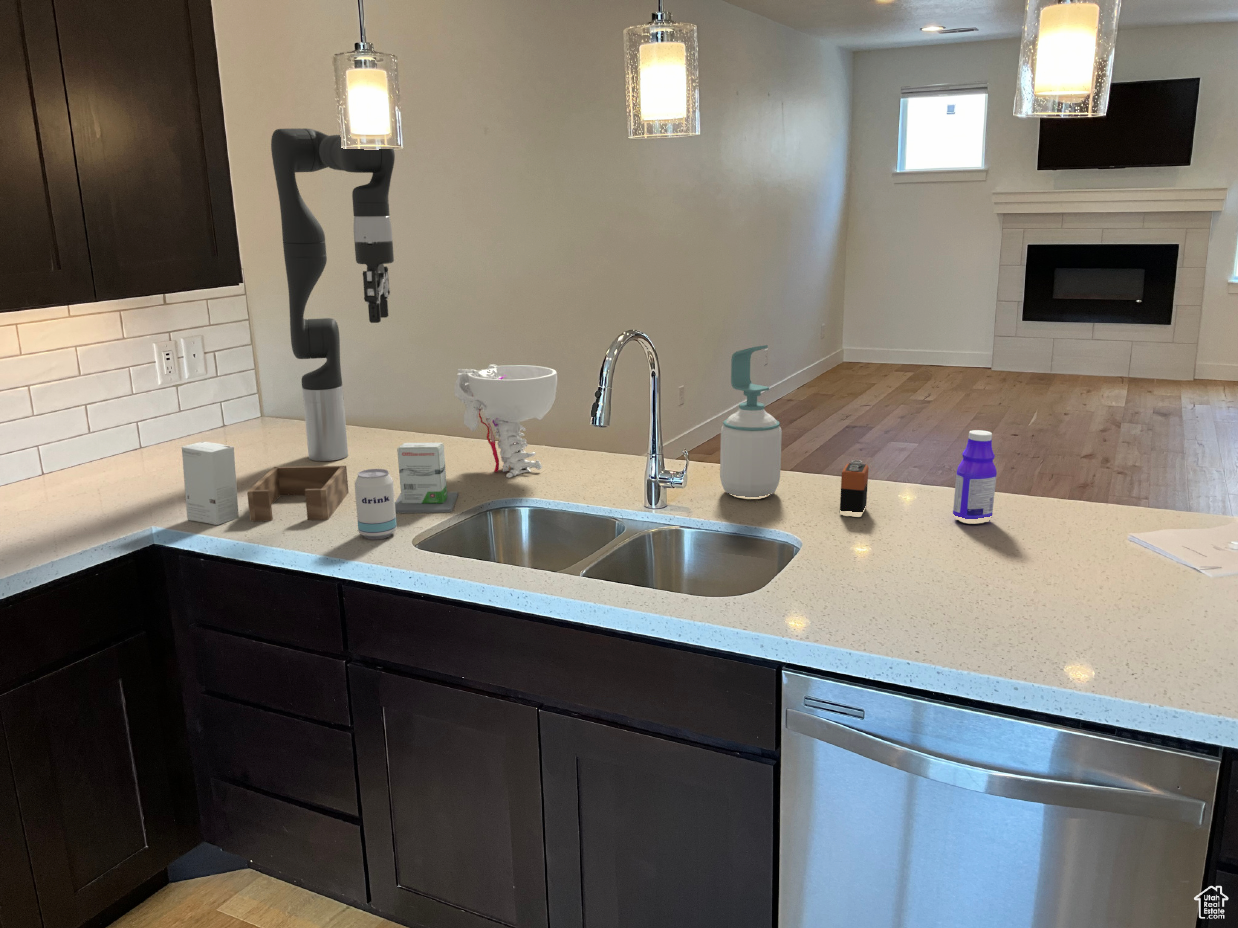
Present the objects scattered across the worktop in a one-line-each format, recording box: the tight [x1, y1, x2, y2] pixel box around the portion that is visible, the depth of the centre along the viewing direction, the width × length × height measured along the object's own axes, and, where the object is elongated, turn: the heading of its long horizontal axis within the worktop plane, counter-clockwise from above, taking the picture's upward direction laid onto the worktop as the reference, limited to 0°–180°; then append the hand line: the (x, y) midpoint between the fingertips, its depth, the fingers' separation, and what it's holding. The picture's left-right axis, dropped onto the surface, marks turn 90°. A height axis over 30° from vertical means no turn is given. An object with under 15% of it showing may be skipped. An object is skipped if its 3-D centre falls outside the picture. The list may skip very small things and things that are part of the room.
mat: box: [395, 491, 459, 514], centre depth 204 cm, size 12×12×1 cm
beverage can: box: [354, 468, 398, 540], centre depth 184 cm, size 7×7×12 cm
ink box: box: [396, 442, 448, 504], centre depth 202 cm, size 9×5×12 cm, turn 86°
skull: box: [453, 364, 558, 478], centre depth 225 cm, size 25×19×23 cm
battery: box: [839, 459, 869, 512], centre depth 194 cm, size 4×7×10 cm, turn 159°
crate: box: [246, 465, 349, 522], centre depth 202 cm, size 18×15×6 cm
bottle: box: [952, 429, 998, 519], centre depth 187 cm, size 7×6×17 cm
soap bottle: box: [719, 344, 783, 497], centre depth 204 cm, size 12×12×31 cm
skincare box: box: [181, 441, 239, 526], centre depth 194 cm, size 8×6×15 cm
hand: (379, 320), depth 206 cm, fingers open, 8 cm apart
